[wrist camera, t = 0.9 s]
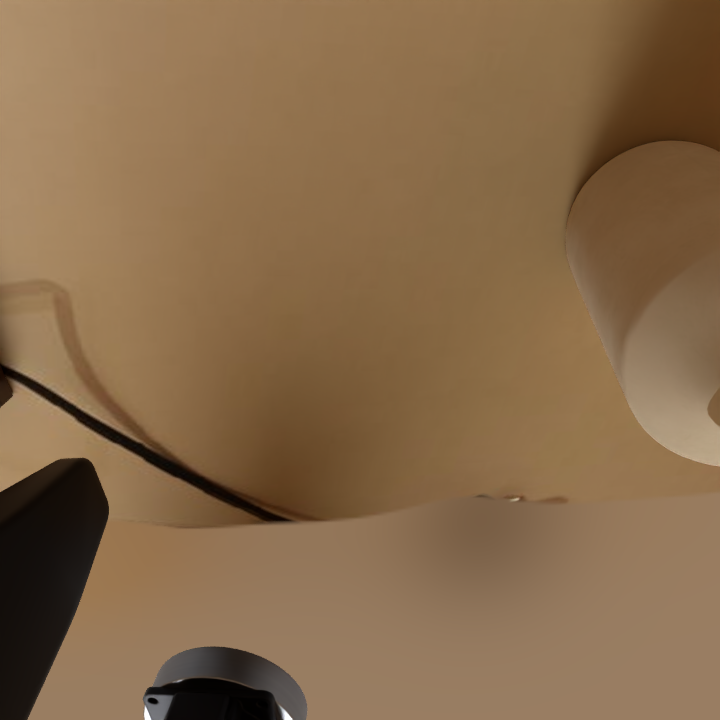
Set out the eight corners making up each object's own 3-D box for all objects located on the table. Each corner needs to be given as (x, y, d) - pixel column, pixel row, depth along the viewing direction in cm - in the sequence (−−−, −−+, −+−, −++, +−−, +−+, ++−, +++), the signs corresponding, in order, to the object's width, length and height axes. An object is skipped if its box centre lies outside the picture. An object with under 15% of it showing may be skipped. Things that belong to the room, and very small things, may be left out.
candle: (562, 314, 23) (631, 516, 14) (563, 148, 20) (650, 268, 12) (737, 303, 22) (927, 510, 13) (762, 127, 19) (1018, 240, 11)
